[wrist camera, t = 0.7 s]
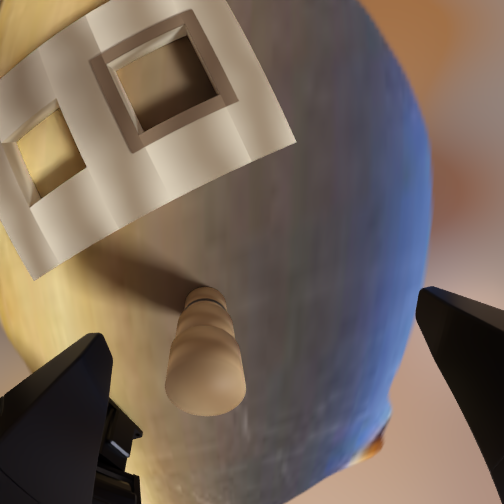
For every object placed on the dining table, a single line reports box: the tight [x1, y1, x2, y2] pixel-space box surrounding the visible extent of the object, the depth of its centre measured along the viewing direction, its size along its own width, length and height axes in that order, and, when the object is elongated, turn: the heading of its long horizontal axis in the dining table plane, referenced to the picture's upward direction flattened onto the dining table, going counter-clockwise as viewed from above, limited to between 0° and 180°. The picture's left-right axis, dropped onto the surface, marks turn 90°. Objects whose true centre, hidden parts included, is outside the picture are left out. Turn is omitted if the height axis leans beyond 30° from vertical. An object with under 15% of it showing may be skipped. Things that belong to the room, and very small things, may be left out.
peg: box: [165, 287, 246, 416], centre depth 19 cm, size 4×4×9 cm
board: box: [0, 0, 296, 281], centre depth 17 cm, size 20×14×2 cm
